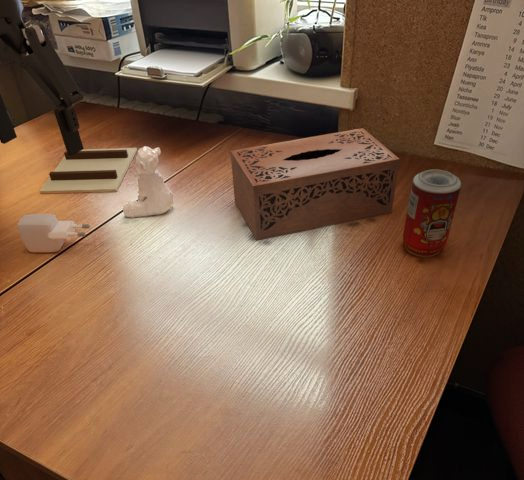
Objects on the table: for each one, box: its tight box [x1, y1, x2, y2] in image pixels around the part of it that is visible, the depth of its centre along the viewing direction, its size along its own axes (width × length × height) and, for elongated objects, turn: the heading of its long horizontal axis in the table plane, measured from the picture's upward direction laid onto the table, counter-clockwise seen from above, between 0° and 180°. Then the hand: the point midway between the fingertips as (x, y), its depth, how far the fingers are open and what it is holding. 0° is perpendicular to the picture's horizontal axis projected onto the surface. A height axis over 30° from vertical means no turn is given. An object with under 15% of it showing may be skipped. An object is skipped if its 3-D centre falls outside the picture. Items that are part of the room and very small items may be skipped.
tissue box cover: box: [230, 127, 401, 241], centre depth 91 cm, size 26×14×10 cm, turn 107°
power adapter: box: [17, 213, 91, 253], centre depth 86 cm, size 11×5×6 cm, turn 87°
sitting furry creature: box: [122, 145, 174, 219], centre depth 92 cm, size 10×9×12 cm
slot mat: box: [39, 147, 138, 195], centre depth 109 cm, size 16×20×2 cm
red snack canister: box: [402, 168, 462, 258], centre depth 79 cm, size 7×7×12 cm
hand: (41, 146), depth 78 cm, fingers open, 13 cm apart
